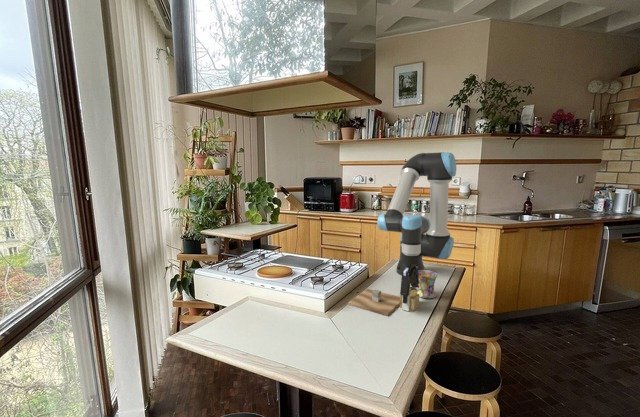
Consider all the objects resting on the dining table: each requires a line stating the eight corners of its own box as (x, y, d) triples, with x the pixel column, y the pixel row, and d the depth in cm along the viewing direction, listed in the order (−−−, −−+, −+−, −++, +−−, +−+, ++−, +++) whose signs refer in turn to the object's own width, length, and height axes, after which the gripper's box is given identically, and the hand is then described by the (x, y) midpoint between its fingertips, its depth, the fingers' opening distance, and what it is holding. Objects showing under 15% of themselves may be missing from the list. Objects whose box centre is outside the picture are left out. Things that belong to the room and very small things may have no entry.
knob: (404, 302, 133) (405, 284, 132) (418, 305, 129) (419, 287, 128) (399, 307, 128) (400, 289, 127) (413, 311, 124) (414, 292, 123)
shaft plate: (367, 290, 145) (367, 280, 145) (404, 299, 135) (404, 289, 134) (347, 304, 131) (348, 293, 130) (387, 316, 120) (387, 304, 120)
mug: (440, 296, 138) (441, 273, 137) (429, 302, 132) (430, 278, 131) (417, 288, 147) (417, 267, 146) (405, 293, 141) (406, 271, 140)
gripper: (410, 246, 136) (409, 295, 139) (392, 258, 119) (390, 313, 122) (428, 248, 132) (426, 299, 135) (411, 261, 115) (409, 318, 118)
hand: (409, 305), depth 128 cm, fingers open, 8 cm apart
